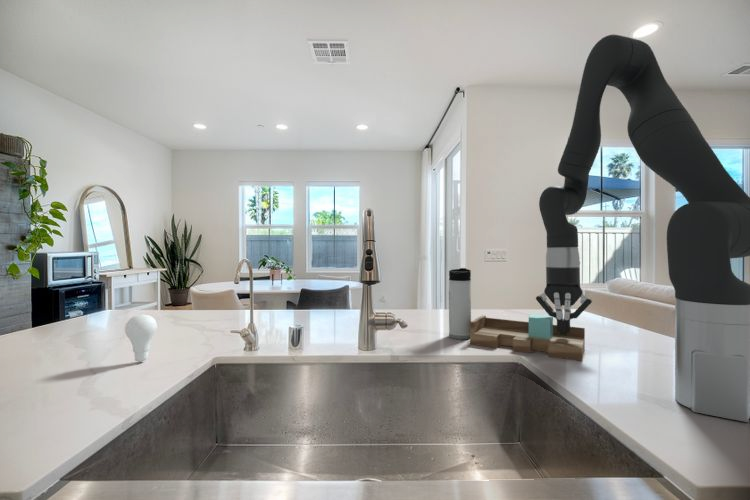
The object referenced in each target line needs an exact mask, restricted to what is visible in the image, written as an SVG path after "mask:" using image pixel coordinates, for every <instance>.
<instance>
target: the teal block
mask: <svg viewBox="0 0 750 500" xmlns="http://www.w3.org/2000/svg"><path fill="white" fill-rule="evenodd" d="M528 322H529V337H536V338H544V339H551V337H552V336H553V325H554V317H552V316H549V315H546V314H545V315H544V314H533V313H532V314H531V315H530V316H528Z"/></svg>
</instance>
